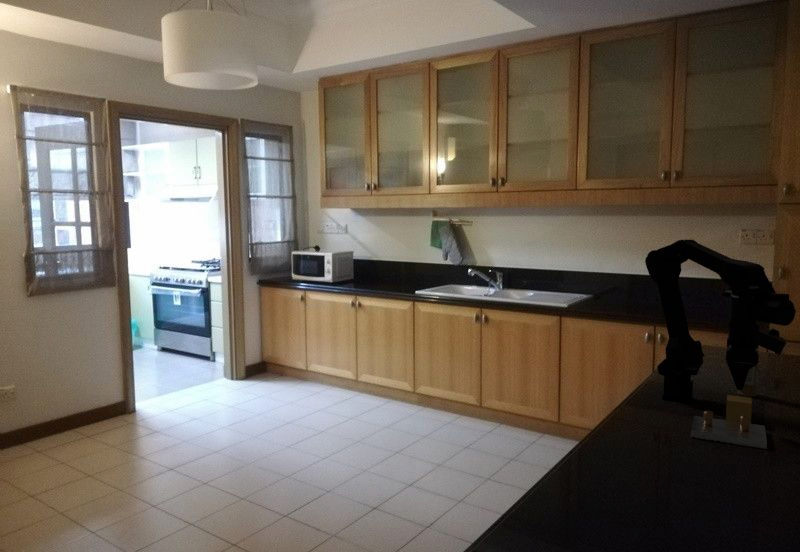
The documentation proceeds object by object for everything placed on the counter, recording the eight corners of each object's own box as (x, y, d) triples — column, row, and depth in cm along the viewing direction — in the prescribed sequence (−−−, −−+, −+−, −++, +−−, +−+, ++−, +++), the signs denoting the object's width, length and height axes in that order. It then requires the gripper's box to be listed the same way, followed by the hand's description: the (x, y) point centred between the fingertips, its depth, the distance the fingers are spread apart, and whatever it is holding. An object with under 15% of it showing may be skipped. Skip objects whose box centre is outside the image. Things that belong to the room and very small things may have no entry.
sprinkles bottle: (759, 395, 161) (762, 345, 160) (750, 398, 159) (753, 347, 158) (742, 391, 165) (744, 342, 164) (733, 393, 163) (735, 344, 161)
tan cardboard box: (725, 421, 141) (726, 400, 141) (726, 415, 145) (727, 394, 145) (750, 424, 139) (752, 403, 138) (750, 418, 143) (751, 397, 143)
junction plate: (690, 437, 131) (691, 416, 131) (693, 422, 141) (694, 403, 140) (766, 449, 124) (767, 427, 124) (764, 432, 134) (765, 412, 134)
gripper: (788, 328, 128) (783, 400, 129) (782, 315, 144) (778, 379, 146) (727, 323, 133) (723, 393, 135) (728, 311, 149) (725, 373, 151)
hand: (739, 384), depth 141 cm, fingers open, 9 cm apart
